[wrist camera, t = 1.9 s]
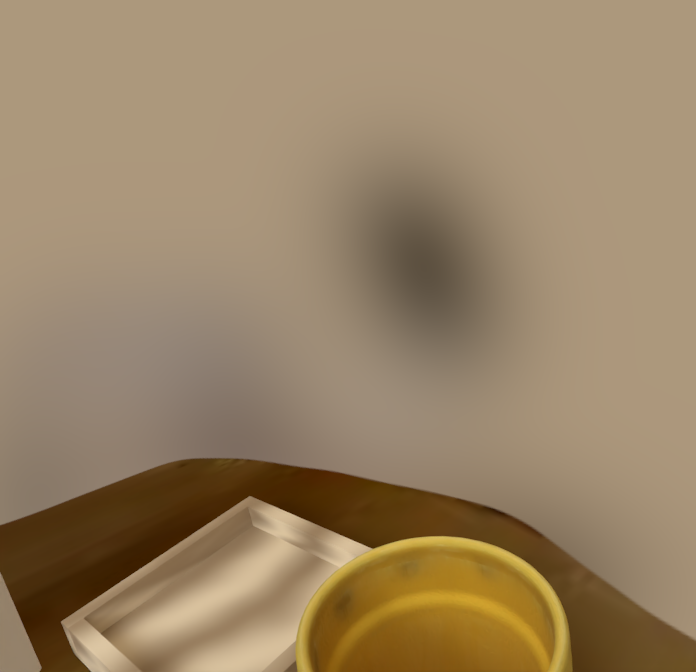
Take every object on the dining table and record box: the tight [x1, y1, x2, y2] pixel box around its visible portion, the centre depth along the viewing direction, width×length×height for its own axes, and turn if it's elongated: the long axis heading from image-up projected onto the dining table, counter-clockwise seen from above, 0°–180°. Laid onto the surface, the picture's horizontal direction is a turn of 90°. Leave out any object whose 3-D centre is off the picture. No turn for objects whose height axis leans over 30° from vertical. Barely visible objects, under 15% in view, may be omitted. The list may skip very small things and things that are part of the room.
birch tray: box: [61, 496, 372, 672], centre depth 39 cm, size 15×15×2 cm
